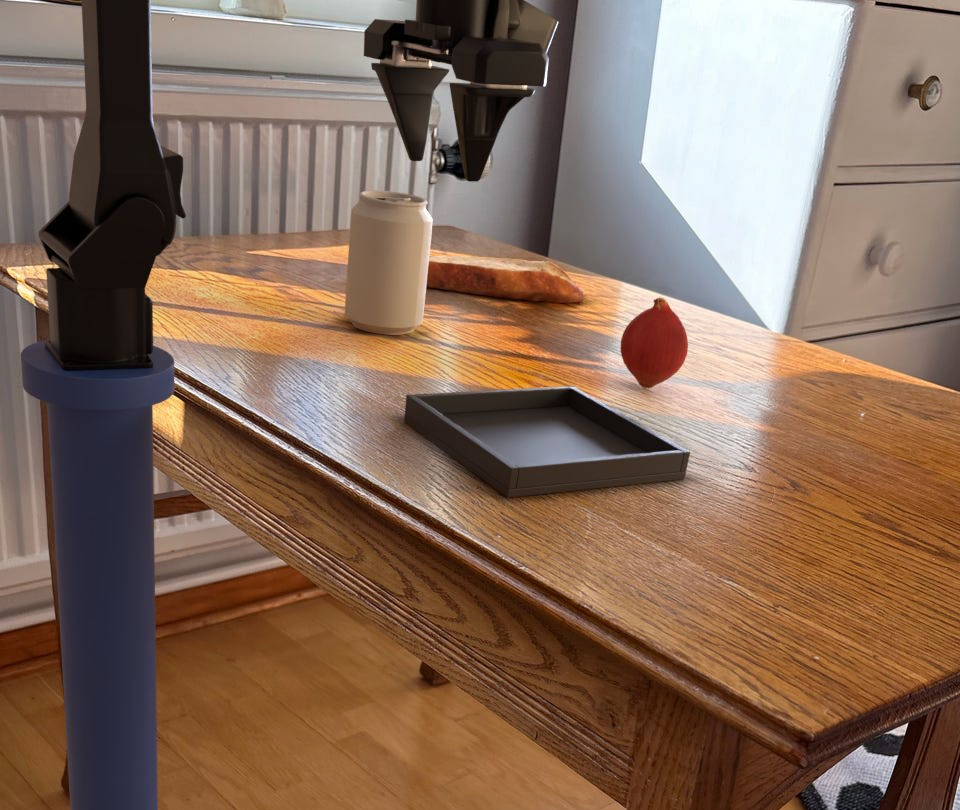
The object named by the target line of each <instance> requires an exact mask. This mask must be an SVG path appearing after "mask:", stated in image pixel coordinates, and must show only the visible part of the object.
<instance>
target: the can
mask: <svg viewBox="0 0 960 810" xmlns="http://www.w3.org/2000/svg"><path fill="white" fill-rule="evenodd" d="M358 195H359V197H360V200H359V201H358V202H357V203H356V204H354V206H353V207H352V208H351V210H350V222H349V223H350V226H349V241H348V252H347V255H348V256H347V268H346V269H347V270H346V285H345V298H344V299H345V300H344V316H345V317H346V318H347V319H348V320H349V321H350V322H351V323H352V326H353V327H355V328H357V329H359V330H362V331H364V332H367V333H373V334H378V335H379V334H380V335H387V336H389V335H390V336H401V335H407V334H410V333H413V332H414V330H415V329H416V328H418V327H419V326H421V325H422V324H423V323H424V314H425V306H426V305H425V304H426V295H427V294H426V293H427V287H426V285H427V275H428V265H429V256H431V255H430V254H431V244H432V234H433V233H432V232H433V224H434V219H433V217H432V216H431V214H430V213H429V211H428V210H427V208H426V207H427V205H428V204H429V202H428V200H427V199H426V198H425V197H424V198H423V197H422V196H418V195H415V194H411V193H406V192H400V191H399V192H398V191H393V190H392V191H390V190H375V189H373V190H372V189H371V190H370V189H369V190H363V191H361V192H359V194H358Z"/></svg>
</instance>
